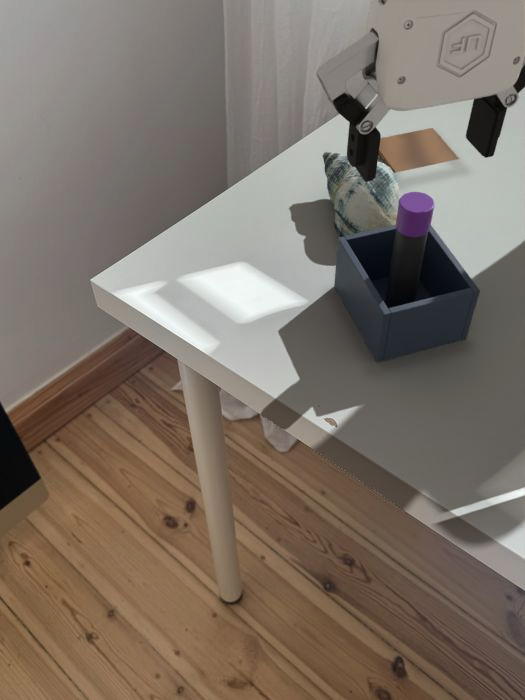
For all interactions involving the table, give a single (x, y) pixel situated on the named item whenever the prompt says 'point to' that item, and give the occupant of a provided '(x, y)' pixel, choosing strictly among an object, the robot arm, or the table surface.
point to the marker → (408, 247)
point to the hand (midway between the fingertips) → (421, 159)
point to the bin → (409, 319)
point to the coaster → (415, 150)
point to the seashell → (360, 196)
